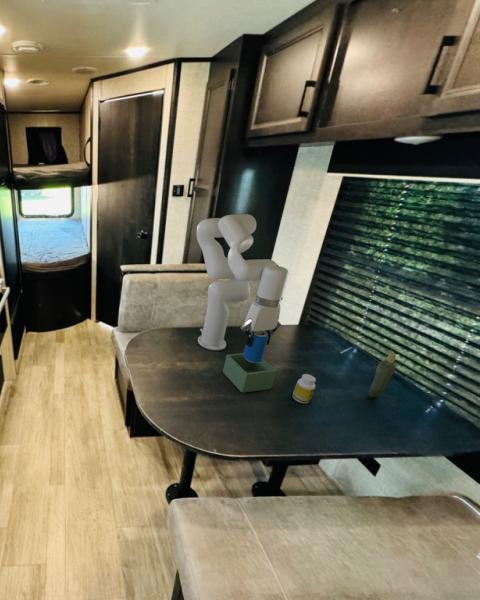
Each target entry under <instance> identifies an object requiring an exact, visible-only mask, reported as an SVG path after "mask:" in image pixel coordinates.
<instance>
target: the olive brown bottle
mask: <svg viewBox="0 0 480 600" xmlns="http://www.w3.org/2000/svg"><path fill="white" fill-rule="evenodd" d="M387 354H388V355H387V357H386V359H383V360H381V361H380V362H378V364H377V366H376V368H375V372H374V378H373V381H372V383H371V385H370V387H369V389H368V395H369V396H370V397H371V398H376V397H377V398H379V397H380V396H381V395H382V394H383V393H384V391H386V388H387V385H388V383H389V381H390V379H392V376H393V375H394V373H395V370H396V364H395V363H394V362H395V361H396V354H395V352H394V351H393V350H392V349H390V350H389V351H388V352H387Z"/></svg>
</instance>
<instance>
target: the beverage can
mask: <svg viewBox="0 0 480 600" xmlns="http://www.w3.org/2000/svg"><path fill="white" fill-rule="evenodd" d="M251 331H252V330H250V332H249V333H251ZM252 337H253V341H252V345H251V347H249V346H247V345H246V344H245V346H244V349H243V353H244V354H243V356H244V358H245V359H246V360H247V361H249V362H252V363H257V362H261V361H262V358H263V359H264V354H265V351H266V348H267V345H266V344H267V341H268V333H267V332H266V331H265V330H263V331H256V332H255V333H254V335H253V336H252Z"/></svg>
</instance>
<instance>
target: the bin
mask: <svg viewBox="0 0 480 600" xmlns="http://www.w3.org/2000/svg"><path fill="white" fill-rule="evenodd" d="M243 354H244V352H239V353H231V354H226V355H225V361H224V364H223V369H222V373H223V375H225V376H226V378H227V379H229V381H230V382H231V383H232V384H233V386H235V387H236V388H237V390H238V391H239V392H241V393H242V394H243V393H249V392H256V391H257V392H258V391H265V390H271V389H272V388H273V385H274V382H275V379H276V376H277V372H278V370H277V369H276V368H275V367H274V366H272V364H270V363H269V362H268V361H266V359H264V357H263V358H262V361H261V362H257V363H252V362H249V361H247V360H246V359H245V358H244V356H243Z"/></svg>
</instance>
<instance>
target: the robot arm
mask: <svg viewBox="0 0 480 600" xmlns="http://www.w3.org/2000/svg"><path fill="white" fill-rule="evenodd" d="M256 229H257V221H256V218H255V217H254V216H253V215H252V214H248V213H244V214H243V213H241V214H228V215H227V214H226V215H224V216H222V217H215V218H214V217H213V218H206V219H203V220H201V221H200V222H199V223H198V224H197V227H196V240H197V243H198V245H199V247H200V250H201V252H202V256H203V260H204V264H205V269H206V273H207V276H208V277H209V278H210V279H212V280H216V281H214V282H211V283H210V285H209V286H208V288H207V305H206V306H207V307H206V312H205V317H204V322H203V327H202V328H200V329H199V332H201V335H199V336H198V338H197V343H198V344H199V345H200V346H201V347H203V348H204V349H207V350H210V351H222V350H224V349H226V348H227V342H226V341H225V336H226V331H227V327H228V323H229V322H228V321H229V318H230V308H229V307H228V306H227V303H236V302H245V301H247V300H248V299H250V296H251V285H250V282H252V281H253V282H254V281H259V285H258V288H257V292H256V296H255V300H254V301H253V302H252V304H251V305H250V307H249V308H248V312H247V314H246V317H245V320H244V323H243V324H242V325H240V329H241V331H242V332H243V334H245V337H244V341H243V343H244V344H245V346H246V345H247V346H249V347H251V345H252V341H253V337H252V336H253V335H254V333H255V332H256V331H263V330H265V331H266V332H267V333H268V341H267V344H266V346H269V344H270V341H271V337H272V336H273V335H274V333H275V332H277V330H278V329H279V328H280V327H281V326H282V324H281V322H280V321H279V319H280V315H281V314H280V313H281V301H283V299H284V298H283V295H284V291H285V289H286V285H287V282H288V279H289V273H290V272H289V270H288V268H286V267H284V266H280V265H279V263H277V262H276V261H274V260H272V259H268V258H266V259H265V258H262V259H261V258H260V259H244V257H243V256H242V253H245V252H246V251H248V250H249V249H250V248H251V247H252V246H253V244H254V237H253V235H252V234H253V233H255V231H256ZM215 238H224V240H225V242H226V243H227V245H228V246H229V248H230V249H228V252H227V253H228V254H227V257H226V255H225V253H224V249H223V247H222V245H221V244H220V242H218V241H217V240H216V239H215ZM217 280H218V281H217ZM251 330H252V331H251ZM250 331H251V333H249V332H250Z"/></svg>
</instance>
